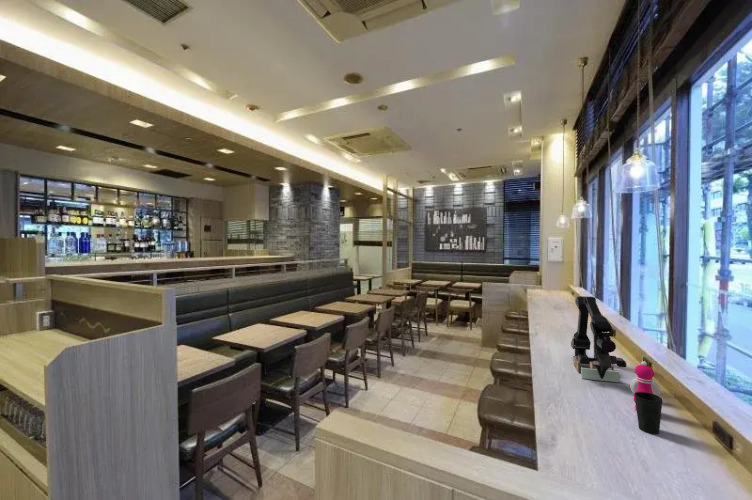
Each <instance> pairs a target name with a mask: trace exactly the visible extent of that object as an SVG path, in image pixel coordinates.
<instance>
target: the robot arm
mask: <svg viewBox="0 0 752 500" xmlns="http://www.w3.org/2000/svg"><path fill="white" fill-rule="evenodd" d="M575 305H576V306H577V308H578V319H577V320H578V321H577V331H576V332H575V333H574V334H573V336H572V338H571V342H570V347H571V349H573V350H574V356H578V361H579V362H580V363H581V364H588V363H590V362H591V363H592V364H593V366H595V367H596V369H597V371H598V373H599V376H600V378H601V379H603V377H604V375H605V373H606V371H607V369H608V368H612V365H616V366H618V368H627V367H628V366H627V361H625V360H624V358H622V357H617V356H616V355H610V353H613V352H615V351H616V349H617V345H616V343H615V342H614V341H613V340H612V339H611V338H613V337H614V333H615V332H614V329H613V326H612V325H611V323H610V322H609V320H608V318H607V317H605V316H604V315H602V313H601V311H600V309H599V306H598V304H597V300H596V297H594V296H587V295H586V296H582V295H581V296H579V295H578V296H576V298H575ZM589 316H590V319H591V320H590V322H589ZM588 323H589V325H590V326H589V325H588ZM588 326H589V327H590V330H591V333H592V336H593V346H592V347H593V357H590V356H588V355H587V351H590V350H591V344H592V342H591V341H590V338H589V336H588ZM589 357H590V358H589Z"/></svg>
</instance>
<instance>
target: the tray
mask: <svg viewBox="0 0 752 500" xmlns="http://www.w3.org/2000/svg"><path fill="white" fill-rule="evenodd" d="M580 374H581V379H582V380H584V379H585V380H592V381H604V382H610V383H611V382H613V383H620V371H618V370H614V371H612V370H611V369H610V368H608V369H607V371H606V373H605V375H604V377H603V379H601V378H600V376H599V373H598V371H597V369H590V365H585V364H580Z"/></svg>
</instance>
